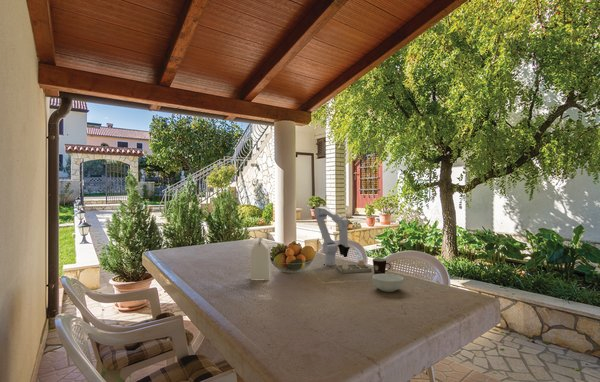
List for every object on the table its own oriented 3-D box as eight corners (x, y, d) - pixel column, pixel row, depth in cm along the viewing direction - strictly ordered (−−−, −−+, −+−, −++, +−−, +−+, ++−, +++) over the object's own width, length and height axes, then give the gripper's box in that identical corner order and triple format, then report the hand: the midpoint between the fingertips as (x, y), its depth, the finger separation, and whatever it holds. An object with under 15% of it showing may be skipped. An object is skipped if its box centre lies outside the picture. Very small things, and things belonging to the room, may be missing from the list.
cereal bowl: (405, 295, 171) (405, 281, 171) (372, 293, 174) (372, 280, 174) (402, 286, 188) (401, 273, 188) (372, 284, 191) (371, 272, 191)
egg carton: (336, 269, 228) (336, 265, 228) (364, 268, 231) (363, 263, 231) (342, 274, 214) (342, 270, 214) (371, 273, 218) (371, 268, 218)
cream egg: (341, 270, 220) (341, 261, 220) (347, 270, 221) (347, 261, 221) (343, 272, 216) (343, 263, 216) (349, 272, 217) (349, 263, 217)
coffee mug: (370, 274, 214) (370, 258, 214) (381, 273, 217) (381, 257, 217) (379, 278, 203) (379, 262, 203) (392, 277, 206) (391, 261, 206)
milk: (269, 280, 203) (268, 238, 202) (250, 280, 203) (249, 238, 203) (271, 275, 215) (270, 235, 214) (253, 275, 215) (253, 235, 215)
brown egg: (356, 267, 228) (356, 259, 228) (361, 267, 230) (361, 258, 230) (360, 269, 224) (360, 260, 224) (365, 268, 226) (365, 259, 226)
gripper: (334, 234, 234) (335, 254, 234) (340, 237, 220) (341, 258, 220) (344, 234, 235) (344, 253, 235) (350, 237, 221) (351, 257, 221)
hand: (343, 255), depth 228 cm, fingers open, 7 cm apart
